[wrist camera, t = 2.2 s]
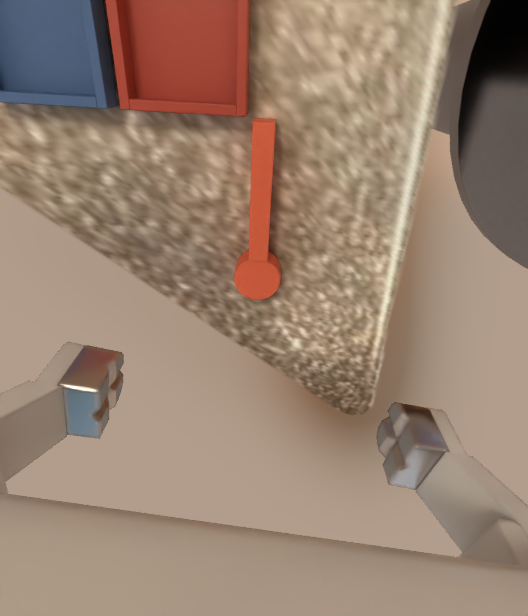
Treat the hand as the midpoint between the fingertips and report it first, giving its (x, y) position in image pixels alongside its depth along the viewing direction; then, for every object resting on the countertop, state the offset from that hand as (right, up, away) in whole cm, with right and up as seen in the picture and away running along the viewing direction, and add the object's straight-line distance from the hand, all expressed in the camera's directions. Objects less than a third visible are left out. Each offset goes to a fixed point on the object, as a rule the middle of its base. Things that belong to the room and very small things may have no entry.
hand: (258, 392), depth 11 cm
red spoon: (0, +9, +17) cm, 19 cm away
